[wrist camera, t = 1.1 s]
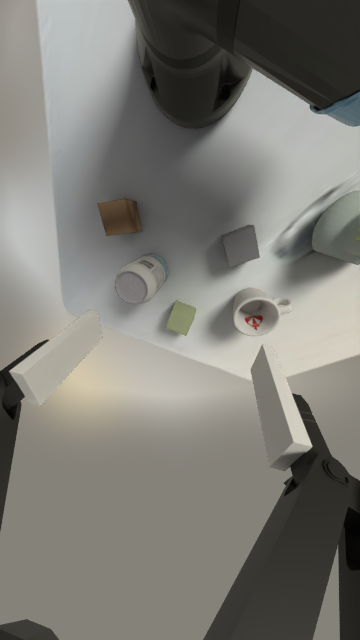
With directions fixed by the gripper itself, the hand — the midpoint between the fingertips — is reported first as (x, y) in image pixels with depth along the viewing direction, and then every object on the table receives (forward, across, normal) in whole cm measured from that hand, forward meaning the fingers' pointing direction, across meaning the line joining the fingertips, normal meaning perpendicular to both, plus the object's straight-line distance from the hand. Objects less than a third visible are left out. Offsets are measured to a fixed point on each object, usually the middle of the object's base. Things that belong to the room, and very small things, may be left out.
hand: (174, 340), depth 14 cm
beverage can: (+26, -10, -3) cm, 28 cm away
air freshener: (+27, +22, +9) cm, 36 cm away
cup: (+26, +13, -6) cm, 30 cm away
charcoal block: (+26, +6, +4) cm, 28 cm away
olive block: (+26, -2, -12) cm, 29 cm away
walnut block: (+26, -16, +6) cm, 31 cm away
